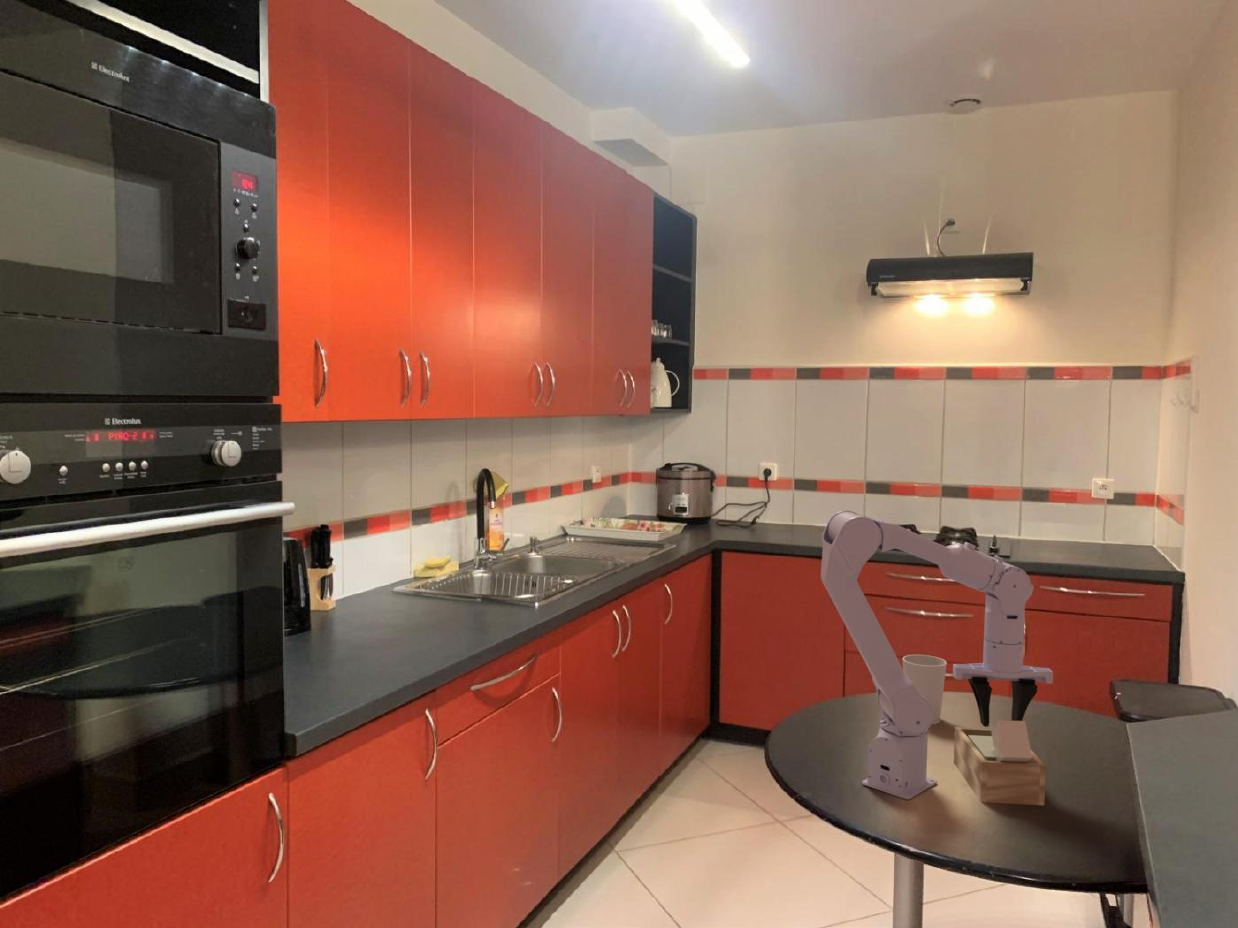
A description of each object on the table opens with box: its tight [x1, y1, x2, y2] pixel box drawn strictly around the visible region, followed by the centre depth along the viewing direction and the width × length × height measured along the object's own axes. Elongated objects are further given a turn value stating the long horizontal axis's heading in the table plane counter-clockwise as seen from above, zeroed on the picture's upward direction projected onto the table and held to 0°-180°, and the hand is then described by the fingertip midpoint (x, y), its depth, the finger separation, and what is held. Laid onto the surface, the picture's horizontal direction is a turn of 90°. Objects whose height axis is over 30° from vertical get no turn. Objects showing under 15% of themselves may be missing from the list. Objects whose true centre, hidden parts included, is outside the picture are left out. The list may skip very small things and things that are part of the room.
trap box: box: [953, 726, 1047, 806], centre depth 142 cm, size 15×9×6 cm, turn 174°
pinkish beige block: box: [990, 719, 1032, 763], centre depth 136 cm, size 4×4×6 cm
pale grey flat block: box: [968, 735, 1031, 763], centre depth 141 cm, size 9×7×4 cm
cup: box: [902, 654, 948, 725], centre depth 170 cm, size 8×8×12 cm
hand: (1000, 725), depth 141 cm, fingers open, 4 cm apart
